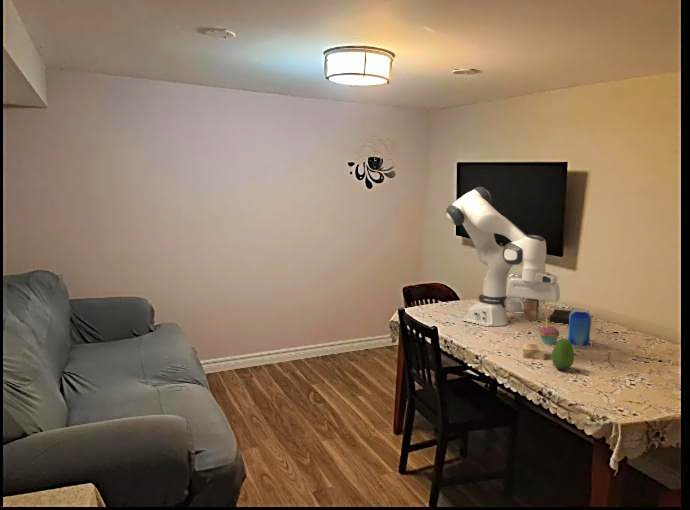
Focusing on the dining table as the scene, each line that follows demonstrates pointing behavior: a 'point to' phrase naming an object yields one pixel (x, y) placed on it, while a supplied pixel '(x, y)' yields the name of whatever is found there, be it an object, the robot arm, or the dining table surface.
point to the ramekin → (514, 304)
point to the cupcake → (548, 334)
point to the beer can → (579, 327)
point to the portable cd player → (560, 316)
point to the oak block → (533, 351)
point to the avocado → (563, 354)
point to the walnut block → (531, 310)
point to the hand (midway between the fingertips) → (531, 309)
